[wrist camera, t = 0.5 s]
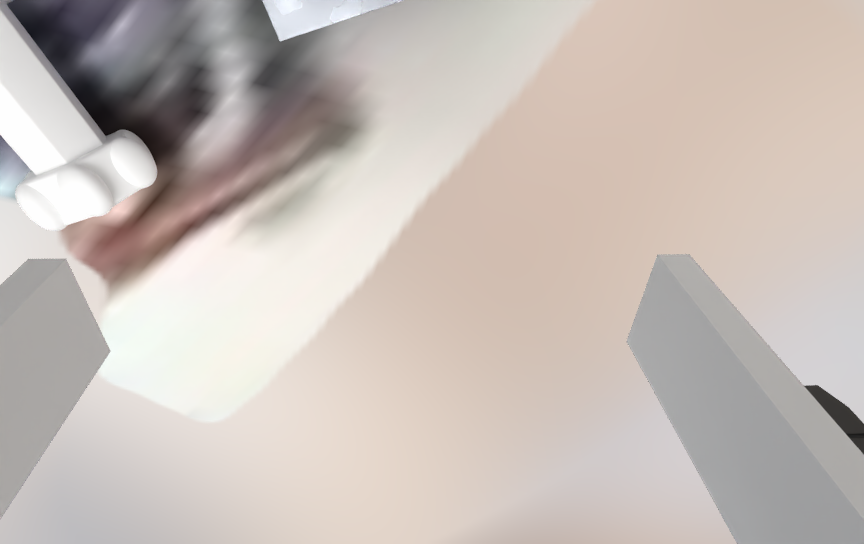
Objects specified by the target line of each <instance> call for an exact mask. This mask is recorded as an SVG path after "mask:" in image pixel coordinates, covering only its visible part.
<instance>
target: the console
mask: <svg viewBox="0 0 864 544" xmlns="http://www.w3.org/2000/svg"><path fill="white" fill-rule="evenodd" d="M262 1H263V3H264V5H265V8H266V10H267V12H268V15H269V17H270V19H271V22H272V24H273V26H274V29H275V31H276V33H277V36H278V38H279V40H280V41H283V40H286V39H289V38H292V37H295V36H298V35H301V34H304V33H307V32H310V31H313V30H316V29H319V28H322V27H325V26H328V25H331V24H334V23H337V22H340V21H343V20H346V19H349V18H352V17H355V16H358V15H361V14H364V13H367V12H370V11H373V10H376V9H379V8H382V7H385V6H388V5H391V4H394V3H397V2H400V1H403V0H262Z"/></svg>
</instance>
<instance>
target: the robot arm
mask: <svg viewBox="0 0 864 544" xmlns="http://www.w3.org/2000/svg"><path fill="white" fill-rule="evenodd" d="M627 343H628V345H629V347H630V349H631V350H632V352H633V354H634V356H635V358H636V359H637V361H638V363H639V365H640V367H641V369H642V371H643V372H644V374H645V376H646V378H647V380H648V382H649V383H650V385H651V387H652V389H653V390H654V393H655V394H656V396H657V398H658V400H659V401H660V403H661V405H662V407H663V409H664V411H665V412H666V414H667V416H668V418H669V420H670V422H671V423H672V425H673V427H674V429H675V431H676V433H677V435H678V436H679V438H680V440H681V442H682V444H683V445H684V447H685V449H686V451H687V453H688V455H689V457H690V458H691V460H692V462H693V464H694V466H695V468H696V469H697V471H698V473H699V475H700V476H701V479H702V480H703V482H704V484H705V486H706V488H707V490H708V491H709V493H710V495H711V497H712V499H713V501H714V502H715V504H716V506H717V508H718V510H719V511H720V513H721V515H722V517H723V519H724V521H725V523H726V524H727V526H728V528H729V530H730V532H731V534H732V535H733V537H734V539H735V541H736V543H737V544H864V424H863V423H862V421H861V420H860V419H859V418H858V417H857V416H856V415H855V414H854V413H853V412H852V411H851V410H850V408H848V407H847V406H845V404H843V403H842V402H840V401H839V400H837V399H836V398H835V397H833V396H832V395H830V394H829V393H828V392H826V391H825V390H823V389H822V388H821V387H819V386H817V385H815V386H804V385H802V383H801V382H800V381H799V380H798V379H797V377H796V376H795V375H794V374H793V373H792V372H791V371H790V369H789V368H788V367H787V366H786V365H785V364H784V363H783V362H782V360H781V359H780V358H779V357H778V356H777V355H776V353H775V352H774V351H773V350H772V349H771V348H770V346H769V345H767V343H766V342H765V341H764V340H763V339H762V337H761V336H760V335H759V334H758V333H757V332H756V331H755V329H754V328H753V327H752V326H751V325H750V324H749V322H748V321H747V320H746V319H745V318H744V317H743V316H742V315H741V313H740V312H739V311H738V310H737V309H736V307H735V306H734V305H733V304H732V303H731V302H730V301H729V299H728V298H727V297H726V296H725V295H724V294H723V293H722V291H721V290H720V289H719V288H718V287H717V286H716V285H715V283H714V282H713V281H712V280H711V279H710V278H709V277H708V275H707V274H706V273H705V272H704V271H703V270H702V269H701V267H700V266H699V265H698V264H697V263H696V262H695V260H694V259H693V258H692V257H691V256H690V255H689V254H685V255H683V254H681V255H679V254H677V255H657V258H656V260H655V263H654V266H653V269H652V272H651V274H650V277H649V280H648V283H647V286H646V289H645V291H644V294H643V297H642V300H641V302H640V305H639V308H638V311H637V314H636V317H635V319H634V322H633V325H632V328H631V331H630V333H629V336H628V339H627ZM109 353H110V349H109V347H108V345H107V343H106V341H105V339H104V337H103V335H102V333H101V331H100V329H99V326H98V324H97V322H96V320H95V318H94V316H93V314H92V312H91V310H90V308H89V306H88V304H87V301H86V299H85V297H84V295H83V293H82V291H81V289H80V287H79V285H78V283H77V281H76V279H75V276H74V274H73V272H72V270H71V268H70V266H69V264H68V262H67V260H66V259H28V260H27V261H26V262H25V263H24V264H22V265H21V266H20V267H19V268H18V269H17V270H16V271H15V272H14V273H13V274H12V275H11V276H10V277H9V278H7V279H6V280H5V281H4V282H3V283H2V284H1V285H0V519H1V518H2V516H3V514H4V513H5V511H6V510H7V508H8V507H9V505H10V504H11V502H12V501H13V499H14V498H15V496H16V495H17V493H18V492H19V490H20V489H21V487H22V486H23V484H24V482H25V481H26V479H27V478H28V476H29V475H30V473H31V472H32V470H33V469H34V467H35V466H36V464H37V463H38V461H39V460H40V458H41V457H42V455H43V453H44V452H45V450H46V449H47V447H48V446H49V444H50V443H51V441H52V440H53V438H54V437H55V435H56V434H57V432H58V431H59V429H60V428H61V426H62V424H63V423H64V421H65V420H66V418H67V417H68V415H69V414H70V412H71V411H72V409H73V408H74V406H75V405H76V403H77V402H78V400H79V398H80V397H81V395H82V394H83V392H84V391H85V389H86V388H87V386H88V385H89V383H90V382H91V380H92V379H93V377H94V376H95V374H96V373H97V371H98V369H99V368H100V366H101V365H102V363H103V362H104V360H105V359H106V357H107V356H108V354H109Z"/></svg>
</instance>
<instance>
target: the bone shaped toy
mask: <svg viewBox="0 0 864 544" xmlns="http://www.w3.org/2000/svg"><path fill="white" fill-rule="evenodd" d="M12 1H14V0H0V135H1V136H2V137H3V138H4V139H5V141H6V142H7V143H8V144H9V145H10V146H11V147H12V149H13V150H14V151H15V152H16V153H17V154H18V155H19V157H20V158H21V159H22V160H23V161H24V162H25V163H26V165H27V166H28V167H29V168H30V169H31V170H32V171H30V172H29V173H28V174H27V175H26V177H25V179H24V180H23V181H22V182H21V183H20V184H19V185H18V186H17V187H16V190H15V196H16V199H17V202H18V204H19V206H20V208H21V209H22V210H23V212H24V213H25V214H26V215H27V216H28V217H29V218H30V219H31V220H32V221H33V222H34V223H36V224H37V225H39V226H40V227H42V228H44V229H48V230H51V231H58V230H62V229H64V228H65V227H66V226H67V225H69V224H72V223H75V222H78V221H81V220H84V219H87V218H90V217H93V216H103V215H105V214H107V213H108V212H109V211H110V210H111V209H112V207H113V206H115V205H116V204H118V203H120V202H121V201H123V200H124V199H126V198H127V197H129V196H131V195H132V194H134V193H135V192H137V191H138V190H140V189H142V188H146V187H149V186H150V185H152V184H153V182H154V181H155V179H156V177H157V167H156V164H155V161H154V159H153V157H152V154H151V152H150V151H149V149H148V148H147V146H146V145H145V143H144V142H143V141H142V140H141V139H140V138H139V137H138V136H137V135H135V134H134V133H132V132H130V131H128V130H118V131H116V132H115V133H112V134H110V135H107V136H105V135H104V133H103V132H102V131H101V129H100V128H99V127H98V125H97V124H96V123H95V121H94V120H93V119H92V117H91V116H90V115H89V113H88V112H87V111H86V109H85V108H84V107H83V105H82V104H81V103H80V101H79V100H78V99H77V97H76V96H75V95H74V93H73V92H72V91H71V89H70V88H69V87H68V85H67V84H66V83H65V82H64V80H63V79H62V78H61V76H60V75H59V74H58V72H57V71H56V70H55V68H54V67H53V66H52V64H51V63H50V62H49V60H48V59H47V58H46V56H45V55H44V54H43V52H42V51H41V50H40V48H39V47H38V46H37V44H36V43H35V42H34V40H33V39H32V38H31V36H30V35H29V34H28V32H27V31H26V30H25V28H24V27H23V26H22V24H21V23H20V22H19V20H18V19H17V18H16V16H15V15H14V14H13V12H12V11H11V10H10V8H9V7H8V6H7V3H10V2H12Z"/></svg>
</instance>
